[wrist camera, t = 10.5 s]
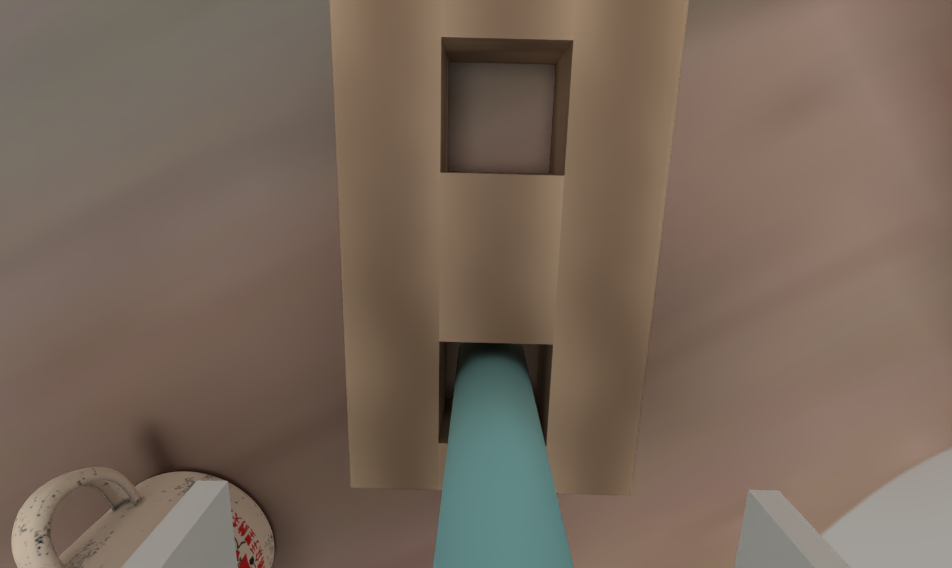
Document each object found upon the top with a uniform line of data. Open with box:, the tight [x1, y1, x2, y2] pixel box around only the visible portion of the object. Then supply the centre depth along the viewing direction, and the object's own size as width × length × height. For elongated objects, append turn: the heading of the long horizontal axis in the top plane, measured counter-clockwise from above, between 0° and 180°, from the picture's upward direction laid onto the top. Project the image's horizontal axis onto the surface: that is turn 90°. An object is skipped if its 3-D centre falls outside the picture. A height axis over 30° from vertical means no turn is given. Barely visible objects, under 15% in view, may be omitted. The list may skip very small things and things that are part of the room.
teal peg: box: [433, 342, 574, 568], centre depth 16 cm, size 3×3×15 cm
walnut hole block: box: [330, 0, 689, 496], centre depth 20 cm, size 12×20×4 cm, turn 179°
